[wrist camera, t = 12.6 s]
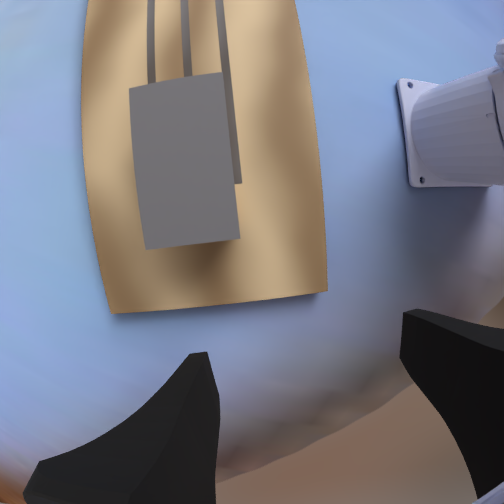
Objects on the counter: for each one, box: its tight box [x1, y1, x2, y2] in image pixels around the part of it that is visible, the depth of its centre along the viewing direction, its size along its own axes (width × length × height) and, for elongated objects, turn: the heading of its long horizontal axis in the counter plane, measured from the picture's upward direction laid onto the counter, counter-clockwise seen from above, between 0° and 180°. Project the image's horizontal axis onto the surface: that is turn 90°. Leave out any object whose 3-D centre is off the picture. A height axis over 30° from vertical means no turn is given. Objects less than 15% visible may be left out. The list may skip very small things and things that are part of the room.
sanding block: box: [129, 72, 241, 250], centre depth 14 cm, size 4×7×5 cm, turn 6°
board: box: [81, 0, 328, 314], centre depth 16 cm, size 14×26×2 cm, turn 6°
